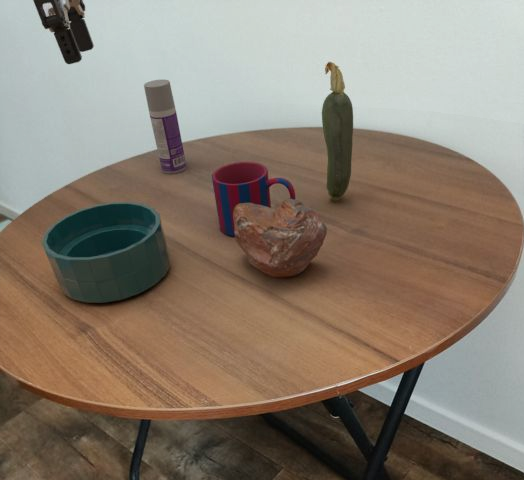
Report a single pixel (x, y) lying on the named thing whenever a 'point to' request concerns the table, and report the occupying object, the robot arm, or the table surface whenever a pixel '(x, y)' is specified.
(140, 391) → the table surface
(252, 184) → the mug
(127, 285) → the teal pet bowl
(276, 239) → the stone
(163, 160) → the container
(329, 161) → the vegetable
